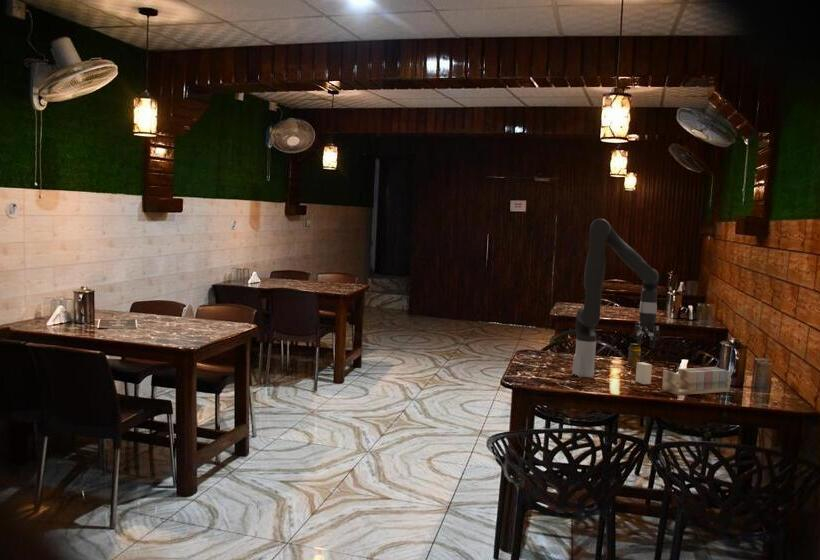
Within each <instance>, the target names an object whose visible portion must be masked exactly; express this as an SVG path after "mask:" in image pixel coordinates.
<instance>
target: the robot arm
mask: <svg viewBox="0 0 820 560" xmlns="http://www.w3.org/2000/svg"><path fill="white" fill-rule="evenodd" d="M588 245H589V246H588V250H587V256H586V261H585V266H584V272H583V273H584V274H583V285H584V286H583V287H584V295H585V298H584V304H583V306H581V307H580V308H579V309H578V310H577V312H576V316H575V334H576V335H575V336H576V338H575V339H576V340H575V341H576V342H575V354H573V359H572V375H573V374H575V375H574V376H576V375H577V377H579V378H593V377H595V363H596V362H595V360H596V347H597V333H596V331H595V329H596V326H597V325H598V324H599V322H600V319H601V298H602V293H603V288H604V287H603V286H604V280H605V273H606V245H607V246H608V247H609V248H611V249H612V250H613V251H614V252H615V254H616V255H617V256H618V257H619V258H620V260H621V261H623V262H624V264H625V265H627V266H628V267H629V268H630V269H631V270H632V271H634V273H635V274H636V276H637V277H639V279H640V280H642V289H641V292H640V303H639V312H638V313H639V314H638V315H639V316H638V321H635V322H634V330H633V335H635V336H636V344H638V345H642V344H643V335H644V334H647V336H649V340H650V341H649V348H650V349H654V348H656V341H657V340H659V339H660V332H661V331H660V330H661V327H660V326H659V325H655V323H656V322H657V313H658V311H657V310H658V305H657V303H658V287H659V279H660V278H659V277H660V275H659V271H658V270H657V269H655V268H652V266H650V265H649V263H647V262H646V261H645V259H644V258H643V257H642V256H641V255H640V254H639V253H638V252H637V251H636V250H635V249H633V248H632V247H631V246H630V245H629V244H628V243H626V242H625V241H624V240H623V239H622V238H621V237H620V236H619V235H618V234H617V232H616V231H615V229H614V228H613V227H612V225H611V224H610V222H609V221H608V220H607V219H604V218H597V219H595V220H593V221H592V222H591V224H590V226H589V243H588Z"/></svg>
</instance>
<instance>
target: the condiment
mask: <svg viewBox="0 0 820 560" xmlns="http://www.w3.org/2000/svg"><path fill="white" fill-rule="evenodd" d="M641 345H642V344H641ZM641 345H638V344H637V342H636V343H635V342H633V343H630V344H629V348H628V355H627V364H628V366H631V367H637V363H639V362H641V356H642V355H641V353H642V350H641Z"/></svg>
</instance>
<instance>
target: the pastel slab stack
mask: <svg viewBox="0 0 820 560" xmlns="http://www.w3.org/2000/svg"><path fill="white" fill-rule="evenodd" d="M662 372H663V373H662V382H661V383H662V386H661V390H662V391H664V392H667V393H670V394H673V395H675V396H681V395H697V394H714V393H728V392H730V385H731V374H732V372H731V371H728V370H727V369H723V368H719V367H716V366H712V367H711V366H709V367H693V368H691V367H690V368H678V372H674V371H670V370H667V369H663V371H662Z"/></svg>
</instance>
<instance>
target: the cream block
mask: <svg viewBox="0 0 820 560" xmlns="http://www.w3.org/2000/svg"><path fill="white" fill-rule="evenodd" d="M652 370H653V364H650V363H647V362H645V361H642V362H641V361H640V362H639V363H637V367H636V368H635V382H636V383H639V384H642V385H651V383H652Z"/></svg>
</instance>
